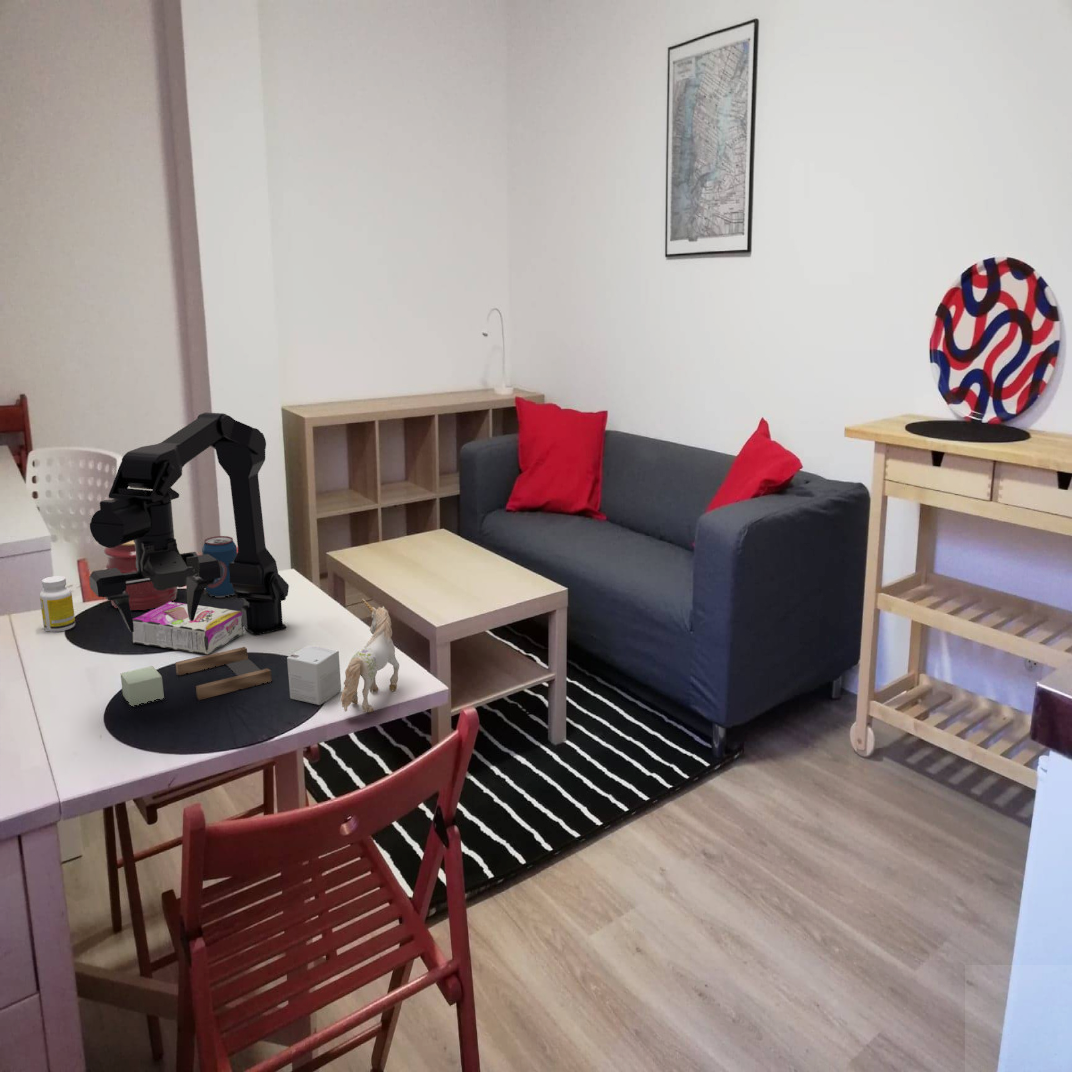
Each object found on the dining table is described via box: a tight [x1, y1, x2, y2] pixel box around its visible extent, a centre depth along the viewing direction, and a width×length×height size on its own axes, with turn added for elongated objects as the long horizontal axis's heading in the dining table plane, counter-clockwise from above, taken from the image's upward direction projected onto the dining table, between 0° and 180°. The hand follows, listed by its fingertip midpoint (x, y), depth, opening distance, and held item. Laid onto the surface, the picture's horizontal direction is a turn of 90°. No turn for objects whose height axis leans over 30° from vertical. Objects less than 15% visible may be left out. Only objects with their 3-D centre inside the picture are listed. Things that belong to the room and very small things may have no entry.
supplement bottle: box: [39, 575, 76, 633], centre depth 170 cm, size 5×5×10 cm
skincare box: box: [286, 644, 342, 706], centre depth 145 cm, size 6×6×7 cm
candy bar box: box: [131, 601, 244, 655], centre depth 166 cm, size 11×5×16 cm
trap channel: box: [175, 646, 272, 701], centre depth 151 cm, size 12×12×2 cm
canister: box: [103, 540, 178, 611], centre depth 183 cm, size 13×13×18 cm
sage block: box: [120, 665, 165, 707], centre depth 143 cm, size 5×5×4 cm
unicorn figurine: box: [340, 598, 400, 714], centre depth 144 cm, size 7×20×13 cm, turn 0°
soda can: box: [201, 535, 238, 598], centre depth 190 cm, size 7×7×12 cm
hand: (162, 625), depth 142 cm, fingers open, 9 cm apart
